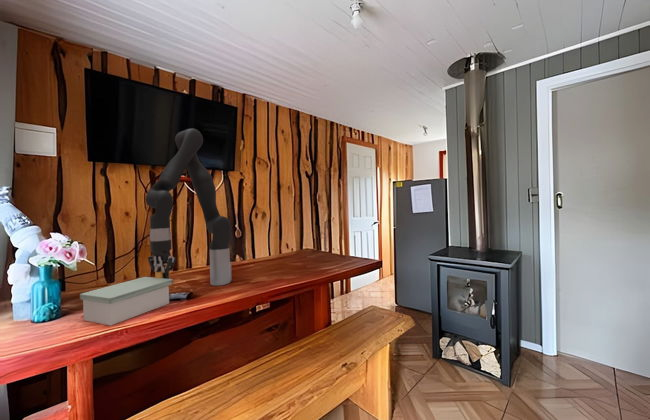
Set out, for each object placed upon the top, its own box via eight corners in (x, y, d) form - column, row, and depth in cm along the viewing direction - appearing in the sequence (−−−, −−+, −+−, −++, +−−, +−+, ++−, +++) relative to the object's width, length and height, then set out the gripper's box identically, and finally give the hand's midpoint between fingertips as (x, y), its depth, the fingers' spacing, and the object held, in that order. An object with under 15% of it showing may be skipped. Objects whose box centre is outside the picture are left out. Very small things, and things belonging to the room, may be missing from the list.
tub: (144, 299, 113) (143, 282, 113) (169, 303, 108) (168, 285, 108) (83, 320, 93) (83, 299, 93) (110, 325, 88) (109, 303, 88)
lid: (153, 278, 118) (153, 269, 117) (180, 281, 112) (180, 271, 112) (79, 299, 93) (79, 287, 93) (110, 303, 87) (109, 291, 87)
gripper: (181, 238, 114) (183, 279, 114) (157, 237, 119) (158, 277, 119) (165, 240, 107) (166, 284, 107) (140, 240, 112) (141, 282, 112)
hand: (162, 280), depth 113 cm, fingers closed on lid, 3 cm apart
